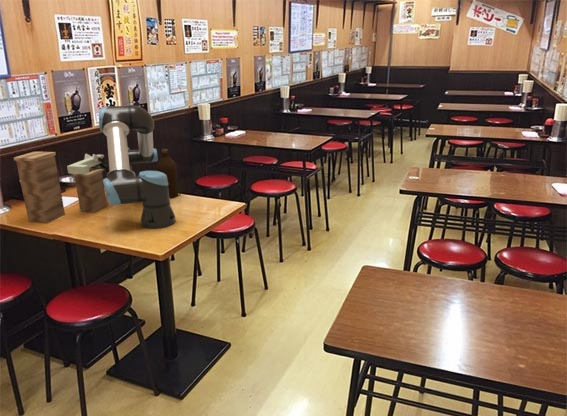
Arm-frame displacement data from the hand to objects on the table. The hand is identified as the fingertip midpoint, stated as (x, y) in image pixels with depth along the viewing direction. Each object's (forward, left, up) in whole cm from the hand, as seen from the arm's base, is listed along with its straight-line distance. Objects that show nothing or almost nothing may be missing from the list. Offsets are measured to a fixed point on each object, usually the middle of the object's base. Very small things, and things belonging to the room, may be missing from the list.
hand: (89, 156), depth 220 cm
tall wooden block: (-3, +23, -26) cm, 35 cm away
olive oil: (-3, -36, -26) cm, 44 cm away
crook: (-4, 0, -5) cm, 6 cm away
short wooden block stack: (-2, +2, -26) cm, 26 cm away
